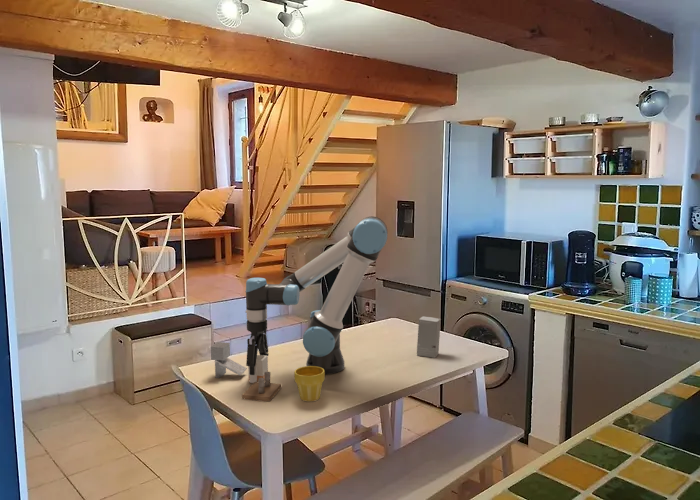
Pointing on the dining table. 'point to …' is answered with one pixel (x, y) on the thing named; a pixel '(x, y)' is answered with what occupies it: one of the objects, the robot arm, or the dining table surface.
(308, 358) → the robot arm
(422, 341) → the skincare box
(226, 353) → the chute
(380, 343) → the dining table surface
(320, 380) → the plant pot
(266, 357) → the sleeve
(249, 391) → the pin board
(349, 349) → the dining table surface
